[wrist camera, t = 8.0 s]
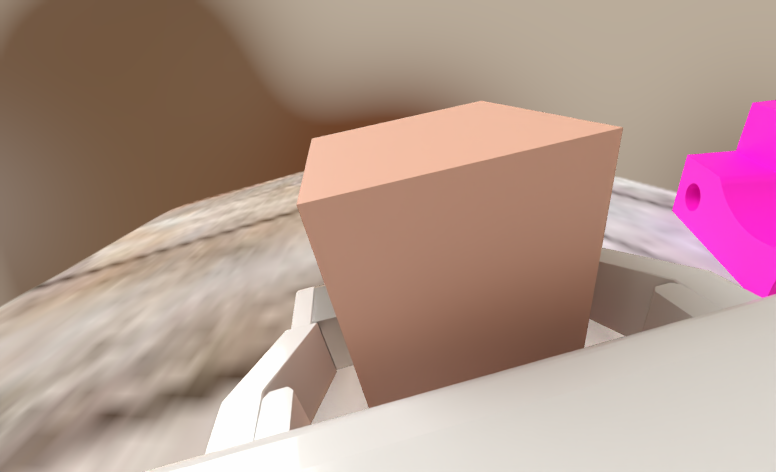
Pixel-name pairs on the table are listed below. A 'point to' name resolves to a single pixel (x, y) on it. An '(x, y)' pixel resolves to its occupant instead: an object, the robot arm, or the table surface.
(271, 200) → the table surface
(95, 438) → the table surface
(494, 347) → the pillar block
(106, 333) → the table surface
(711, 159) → the toy block
